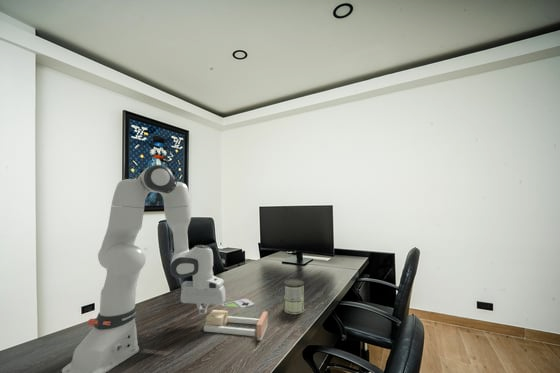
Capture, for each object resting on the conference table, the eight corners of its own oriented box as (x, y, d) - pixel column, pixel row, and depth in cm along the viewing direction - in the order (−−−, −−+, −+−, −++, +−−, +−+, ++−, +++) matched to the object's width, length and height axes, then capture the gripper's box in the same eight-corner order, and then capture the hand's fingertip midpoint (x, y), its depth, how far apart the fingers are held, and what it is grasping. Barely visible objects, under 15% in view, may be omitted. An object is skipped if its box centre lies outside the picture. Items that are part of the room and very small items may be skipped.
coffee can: (280, 307, 125) (281, 280, 126) (298, 304, 129) (298, 278, 130) (288, 315, 116) (288, 286, 117) (307, 312, 119) (307, 283, 120)
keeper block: (221, 330, 100) (221, 318, 100) (205, 328, 101) (206, 316, 101) (227, 322, 107) (227, 310, 107) (212, 321, 108) (213, 309, 108)
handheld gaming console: (255, 303, 128) (229, 310, 119) (255, 306, 127) (229, 313, 119) (246, 297, 136) (221, 303, 127) (246, 300, 135) (221, 306, 127)
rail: (261, 340, 94) (261, 324, 95) (200, 334, 98) (201, 319, 99) (267, 325, 106) (267, 311, 107) (213, 320, 110) (213, 307, 111)
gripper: (177, 283, 105) (177, 315, 104) (221, 284, 102) (221, 317, 102) (185, 278, 111) (185, 308, 111) (226, 279, 109) (227, 310, 108)
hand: (203, 313), depth 106 cm, fingers closed
